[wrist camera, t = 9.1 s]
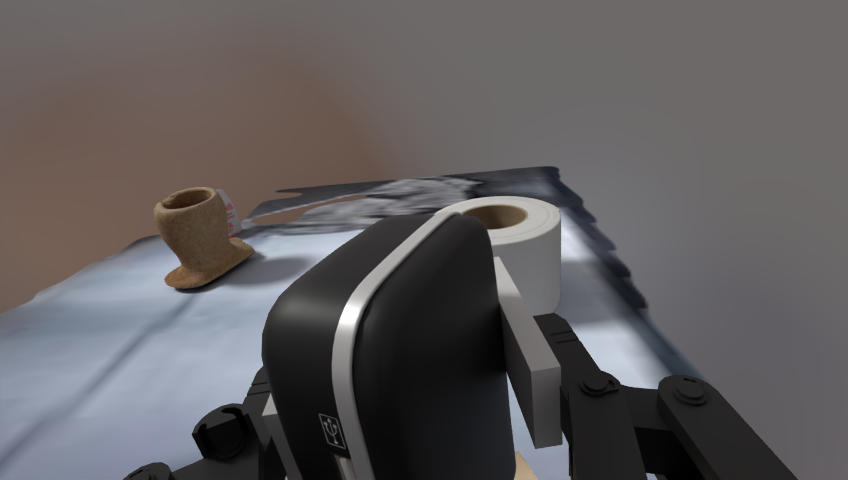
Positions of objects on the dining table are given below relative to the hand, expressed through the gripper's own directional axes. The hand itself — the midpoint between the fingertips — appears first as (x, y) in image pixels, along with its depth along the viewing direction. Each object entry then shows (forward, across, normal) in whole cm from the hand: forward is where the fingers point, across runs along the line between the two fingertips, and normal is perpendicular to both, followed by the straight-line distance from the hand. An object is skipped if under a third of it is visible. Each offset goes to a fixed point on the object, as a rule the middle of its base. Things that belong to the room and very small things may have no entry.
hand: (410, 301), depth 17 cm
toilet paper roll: (+30, +9, -19) cm, 37 cm away
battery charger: (-5, 0, -7) cm, 8 cm away
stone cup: (+52, -35, -19) cm, 66 cm away
